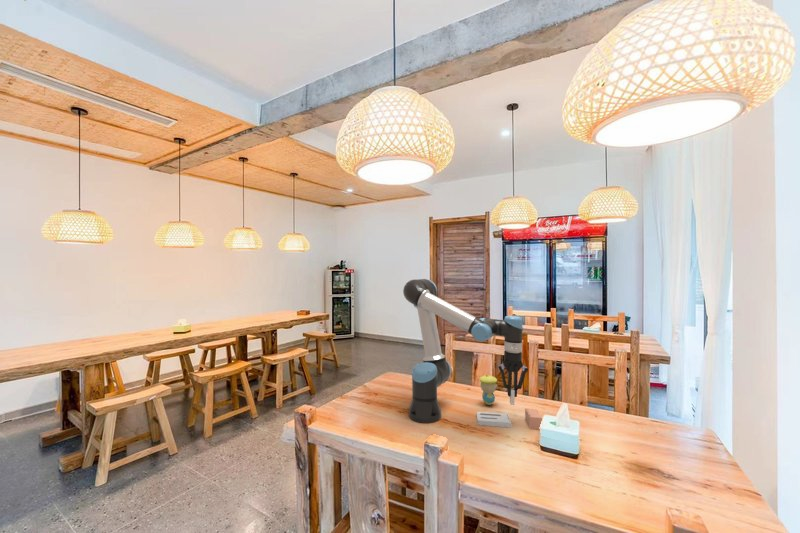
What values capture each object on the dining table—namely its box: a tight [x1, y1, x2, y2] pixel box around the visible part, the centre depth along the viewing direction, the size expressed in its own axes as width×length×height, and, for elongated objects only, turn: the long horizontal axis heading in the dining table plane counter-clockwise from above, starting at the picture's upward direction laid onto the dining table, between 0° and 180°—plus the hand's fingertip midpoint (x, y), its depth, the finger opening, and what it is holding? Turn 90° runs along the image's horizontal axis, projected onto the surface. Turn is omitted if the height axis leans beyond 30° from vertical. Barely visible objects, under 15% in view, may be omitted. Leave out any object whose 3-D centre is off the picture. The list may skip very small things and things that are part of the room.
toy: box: [478, 374, 498, 406], centre depth 162 cm, size 8×9×15 cm
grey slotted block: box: [476, 411, 512, 428], centre depth 143 cm, size 14×9×2 cm, turn 80°
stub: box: [524, 408, 543, 430], centre depth 141 cm, size 5×9×5 cm, turn 170°
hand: (512, 403), depth 143 cm, fingers closed
